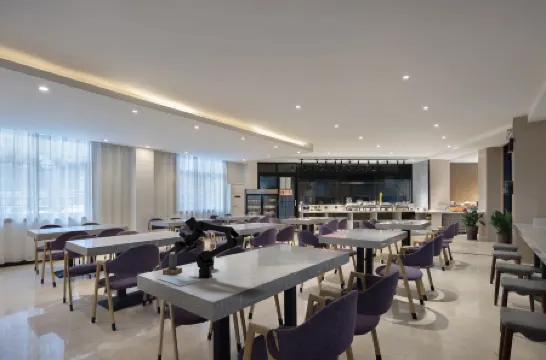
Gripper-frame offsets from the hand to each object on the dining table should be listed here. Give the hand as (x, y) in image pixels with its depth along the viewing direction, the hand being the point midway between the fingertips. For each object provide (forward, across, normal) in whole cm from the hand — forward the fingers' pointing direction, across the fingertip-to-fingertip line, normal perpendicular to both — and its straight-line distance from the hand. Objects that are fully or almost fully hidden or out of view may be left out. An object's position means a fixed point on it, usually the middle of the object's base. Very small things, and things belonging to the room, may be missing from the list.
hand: (180, 253), depth 195 cm
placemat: (+1, +13, +16) cm, 21 cm away
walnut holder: (+13, 0, +4) cm, 14 cm away
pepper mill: (+13, 0, +4) cm, 14 cm away
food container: (+3, -19, +15) cm, 25 cm away
